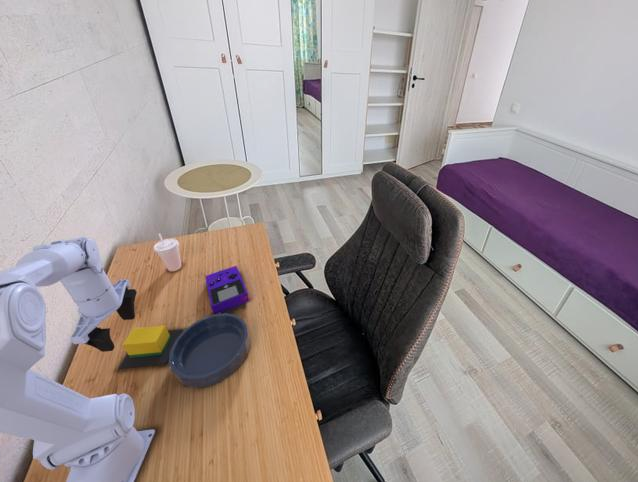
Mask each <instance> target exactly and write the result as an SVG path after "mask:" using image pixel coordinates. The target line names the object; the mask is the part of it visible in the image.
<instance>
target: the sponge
mask: <svg viewBox="0 0 638 482" xmlns="http://www.w3.org/2000/svg"><path fill="white" fill-rule="evenodd" d="M170 339H171V336H170V334H169V332H168V328H167V326H166V325H153V326H142V327H133V328H132V329H131V331H130V332H129V334H128V336H127V337H126V339H125V340H124V341H123V343H122V347H123V348H124V350H125V352H126V354H127V353H128V355H129V356H130V358H132V357H143V356H153V355H163V353H164V351H165V349H166V347H167V345H168V343H169V341H170Z"/></svg>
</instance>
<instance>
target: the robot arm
mask: <svg viewBox="0 0 638 482" xmlns="http://www.w3.org/2000/svg"><path fill="white" fill-rule="evenodd" d="M99 251H100V250H99V247H98V245H97V243H96V241H95V240H94V239H93V238H88V237H85V236H80V237H75V238H70V239H57V240H53V241H51V242H49V243H43V244H38V245H35V246H32V251H30V252H28V253H26V254H24V255H23V256H21V257H20V258H19V259H18V261H17V262H16V263H15V266H12V267H10V268H6V269H3V270H0V433H1V434H5V435H10V436H15V437H18V438H23V439H27V440H32V441H33V448H32V459H33V460H37V461H39V463H40V464H41V466H43V468H45V469H47V470H50V471H52V470H56V469H57V468H59V467H61V466H62V465H63V466H65V467H66V468H69V467H70V469H69V473H68V474H67V475H68V476H67V478H66V480H65V482H135V481H136V479H137V476H138V473H139V471H140V468H141V467H142V464H143V461H144V459H145V457H146V455H147V452H148V450H149V448H150V445H151V443H152V441H153V438H154V436H155V433H156V430H155V428H154V429H153V428H152V429H151V428H150V429H145V430H137V429H136V428H135V427H134V423H135V419H136V418H135V417H136V408H135V404H134V401H133V398H132V396H130V395H129V394H127V393H121V394H117V393H113V394H107V395H102V396H97V397H92V398H90V397H88V396H86V395H83V394H82V393H80V392H77V391H75V390H73V389H71V388H69V387H68V386H65V385H63V384H61V383H60V382H57V381H55V380H53V379H52V378H49V377H47V376H45V375H43V374H40V373H39V372H37V371H34V370H32V369H31V368H33V366H35V365H36V364H37V363H38V362H39V361H41V360H42V359H43V358H44V357H45V355H46V351H45V350H46V344H47V331H46V330H47V329H46V328H47V327H46V316H47V306H46V301H45V298H44V297H43V295H42V293H41V292H40V290H39V289H38V288H41V287H42V288H43V287H48V286H52V285H55V284H56V283H58V282H60V283H61V285H62V286H63V287H64V289H65V290H66V292H67V293H68V295H69V296H70V298H71V299H72V300H73V302H74V303H75V306H77V309H76V311H77V313H78V314H80V316H79V318H78V321H77V323H76V326H75V329H74V331H73V332H72V334H71V336H70V337H69V339H70V341H71V342H72V343H73V344H74V345H87V346H90V347H92V348H95V349H97V350H98V351H100V352H102V353H106V352H113V351H114V349H116V348H115V344H114V341H113V340H112V338H111V327H107V328H106V327H105V328H101V327H99V326H100V325H101V324H102V323H104V322H105V321H106V320H107V319H108V318H109V317H111V315H113V314H114V313H115V312H116V313H117V314H118V316H119V317H120V318H121V319H122V320H123V321H130V320H135V318H136V311H135V301H136V296H137V293H138V292H137V290H136V289H135V288H130V287H131V286H132V284H131V282H130V281H129V279H128V278H127V279H126V278H125V279H117V281H116V282H115V283H114V284H112V282H111V280H110V279H109V277H108V275H107V273H106V272H105V270H104V267H103V266H104V263H103V259H102V258H101V255H100V252H99Z"/></svg>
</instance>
